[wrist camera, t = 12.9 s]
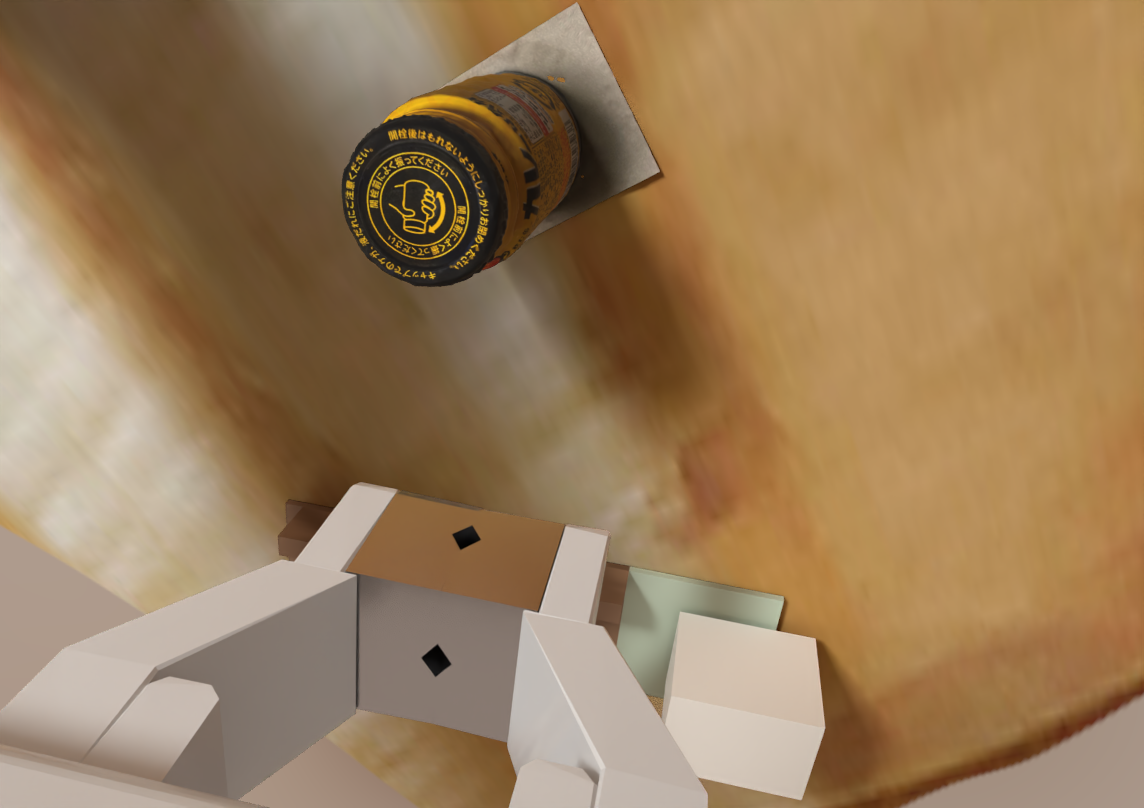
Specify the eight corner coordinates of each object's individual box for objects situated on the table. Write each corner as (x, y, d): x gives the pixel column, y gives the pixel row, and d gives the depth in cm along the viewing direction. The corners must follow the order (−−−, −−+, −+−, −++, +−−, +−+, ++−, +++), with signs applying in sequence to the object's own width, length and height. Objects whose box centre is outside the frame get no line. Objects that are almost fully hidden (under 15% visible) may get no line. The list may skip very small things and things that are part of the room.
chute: (295, 614, 51) (269, 652, 48) (289, 499, 47) (259, 532, 44) (751, 711, 48) (752, 757, 45) (783, 596, 44) (786, 638, 41)
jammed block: (666, 679, 47) (655, 768, 41) (680, 611, 45) (671, 695, 39) (795, 706, 46) (801, 800, 41) (815, 638, 44) (825, 728, 38)
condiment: (407, 108, 37) (269, 157, 26) (578, 2, 34) (500, 8, 23) (494, 257, 39) (399, 358, 28) (660, 169, 36) (625, 247, 25)
